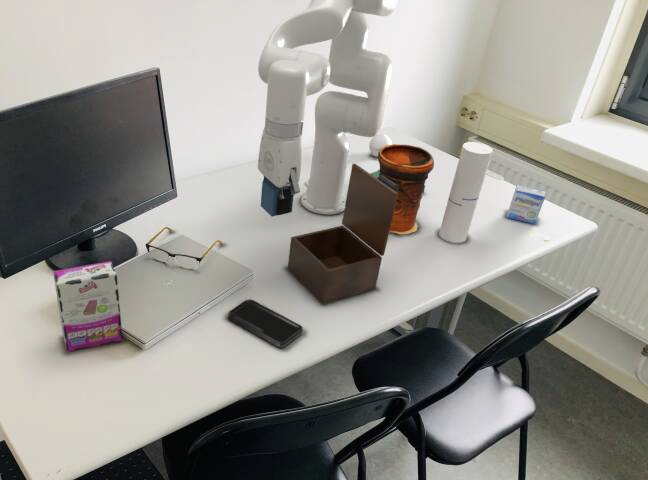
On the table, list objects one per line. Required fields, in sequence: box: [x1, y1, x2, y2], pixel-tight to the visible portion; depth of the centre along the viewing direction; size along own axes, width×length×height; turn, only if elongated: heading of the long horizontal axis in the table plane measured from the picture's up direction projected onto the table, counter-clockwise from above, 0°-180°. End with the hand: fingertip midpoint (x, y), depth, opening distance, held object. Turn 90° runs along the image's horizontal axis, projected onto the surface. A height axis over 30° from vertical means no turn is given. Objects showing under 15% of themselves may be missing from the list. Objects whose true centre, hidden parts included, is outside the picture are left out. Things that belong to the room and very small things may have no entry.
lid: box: [341, 163, 399, 257], centre depth 148 cm, size 16×16×6 cm
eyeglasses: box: [145, 226, 224, 263], centre depth 158 cm, size 14×14×4 cm
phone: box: [227, 299, 303, 349], centre depth 138 cm, size 8×1×15 cm
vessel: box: [377, 143, 435, 236], centre depth 172 cm, size 14×14×20 cm
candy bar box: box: [52, 261, 123, 353], centre depth 126 cm, size 11×5×16 cm, turn 114°
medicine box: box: [506, 184, 547, 225], centre depth 183 cm, size 8×4×9 cm, turn 68°
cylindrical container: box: [438, 141, 494, 244], centre depth 167 cm, size 7×7×25 cm
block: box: [260, 180, 294, 218], centre depth 139 cm, size 5×5×6 cm
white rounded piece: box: [368, 133, 393, 158], centre depth 211 cm, size 10×7×7 cm
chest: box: [287, 224, 383, 305], centre depth 152 cm, size 15×16×9 cm
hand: (276, 206), depth 140 cm, fingers closed on block, 5 cm apart
